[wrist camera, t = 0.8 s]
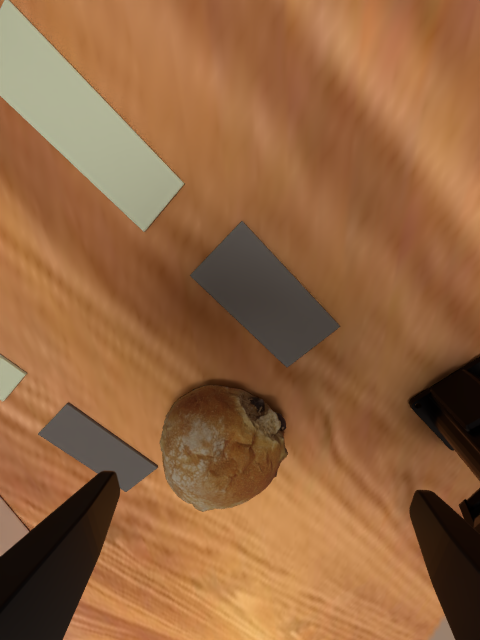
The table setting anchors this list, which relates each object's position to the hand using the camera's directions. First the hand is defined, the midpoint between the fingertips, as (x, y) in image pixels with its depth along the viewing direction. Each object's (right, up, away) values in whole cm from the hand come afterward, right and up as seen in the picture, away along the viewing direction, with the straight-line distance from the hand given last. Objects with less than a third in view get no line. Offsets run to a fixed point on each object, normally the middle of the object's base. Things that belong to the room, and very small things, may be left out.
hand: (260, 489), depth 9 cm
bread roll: (-2, -4, +16) cm, 17 cm away
